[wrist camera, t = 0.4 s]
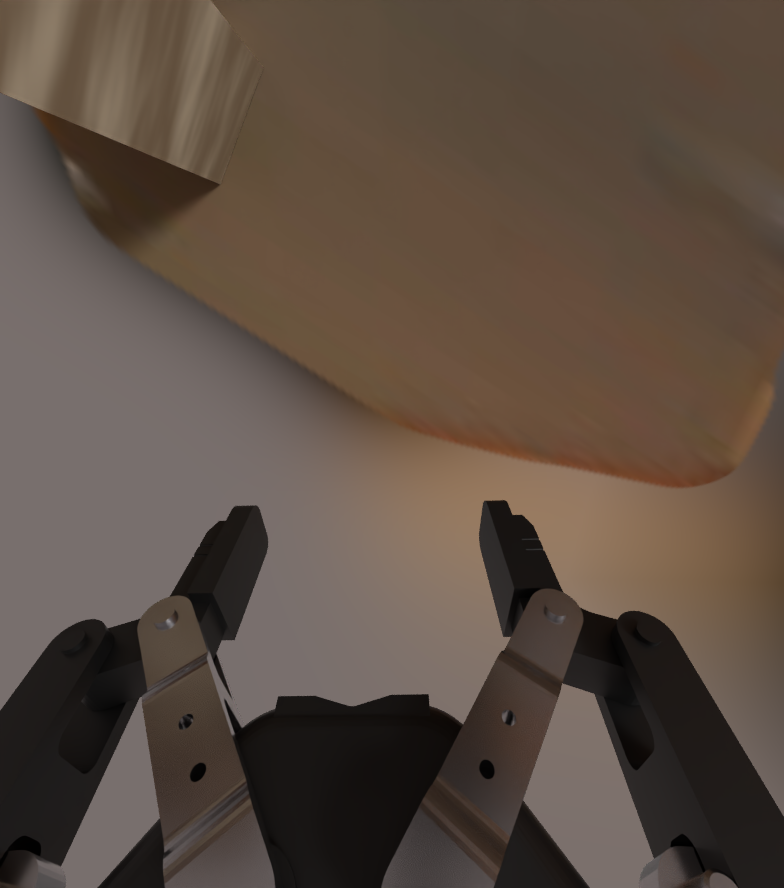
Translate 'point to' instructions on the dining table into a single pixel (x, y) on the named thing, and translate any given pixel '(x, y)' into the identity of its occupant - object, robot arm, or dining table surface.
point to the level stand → (134, 73)
